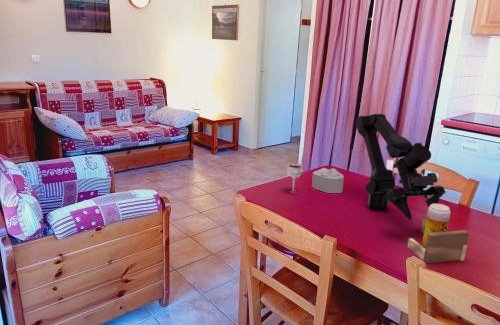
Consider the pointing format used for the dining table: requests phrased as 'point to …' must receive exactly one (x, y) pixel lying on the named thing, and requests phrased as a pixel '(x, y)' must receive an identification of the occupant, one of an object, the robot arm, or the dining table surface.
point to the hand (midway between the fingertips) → (423, 218)
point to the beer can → (436, 220)
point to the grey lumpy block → (328, 180)
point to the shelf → (441, 246)
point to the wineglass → (294, 171)
